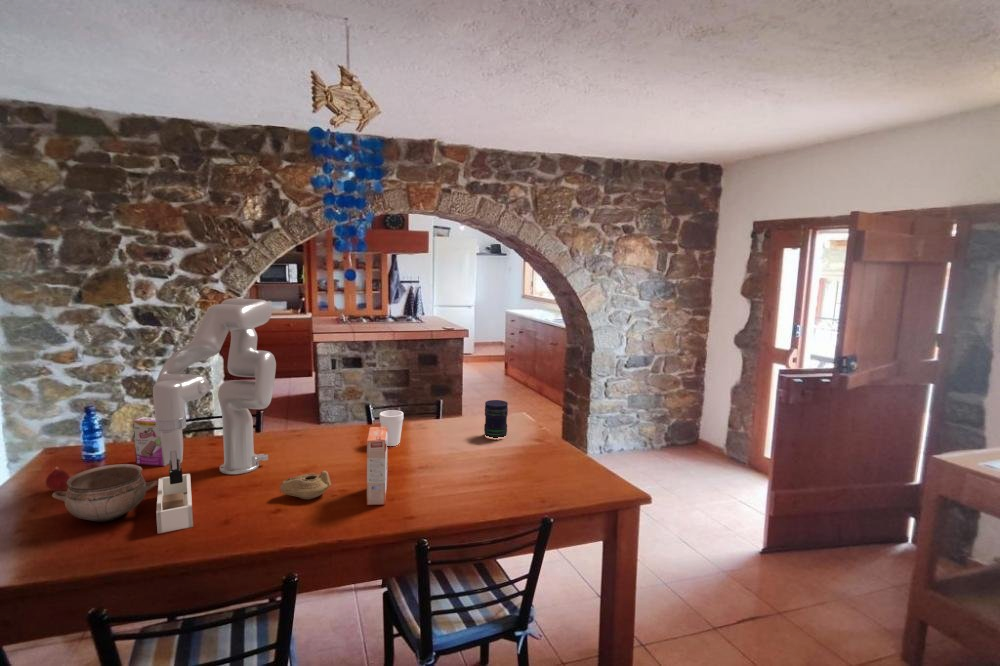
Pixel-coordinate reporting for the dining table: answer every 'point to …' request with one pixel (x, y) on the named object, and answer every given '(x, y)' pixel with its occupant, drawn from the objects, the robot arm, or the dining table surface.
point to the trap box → (174, 516)
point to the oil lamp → (306, 485)
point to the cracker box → (377, 466)
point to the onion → (57, 479)
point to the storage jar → (496, 418)
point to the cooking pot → (105, 492)
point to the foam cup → (392, 425)
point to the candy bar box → (147, 442)
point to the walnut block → (172, 501)
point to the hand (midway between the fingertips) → (176, 482)
